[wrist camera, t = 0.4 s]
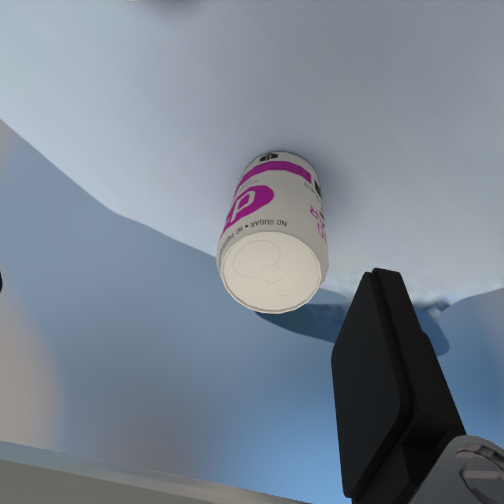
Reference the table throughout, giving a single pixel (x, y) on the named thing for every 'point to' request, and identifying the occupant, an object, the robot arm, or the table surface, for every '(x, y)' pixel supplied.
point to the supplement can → (274, 235)
